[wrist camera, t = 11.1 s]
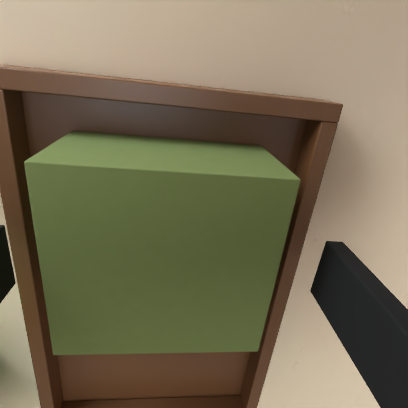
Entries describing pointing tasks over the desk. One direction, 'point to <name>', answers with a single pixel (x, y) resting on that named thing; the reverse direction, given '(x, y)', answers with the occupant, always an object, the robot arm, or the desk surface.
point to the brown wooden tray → (165, 128)
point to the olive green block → (157, 242)
